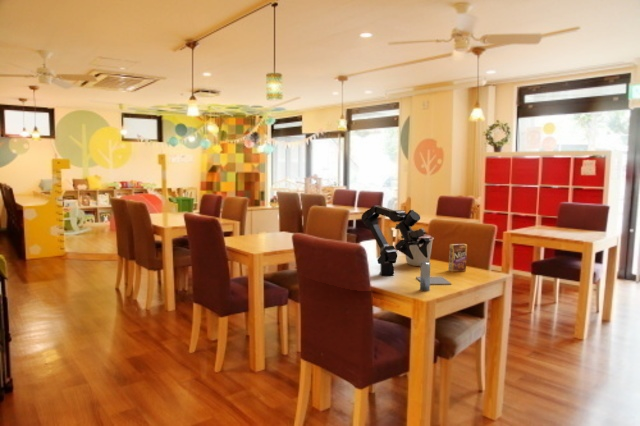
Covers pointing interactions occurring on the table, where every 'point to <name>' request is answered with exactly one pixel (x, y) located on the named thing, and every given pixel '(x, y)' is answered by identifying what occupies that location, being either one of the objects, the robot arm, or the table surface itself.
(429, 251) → the canister
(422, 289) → the tin canister
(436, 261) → the table surface
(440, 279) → the gray mat
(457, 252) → the candy box
